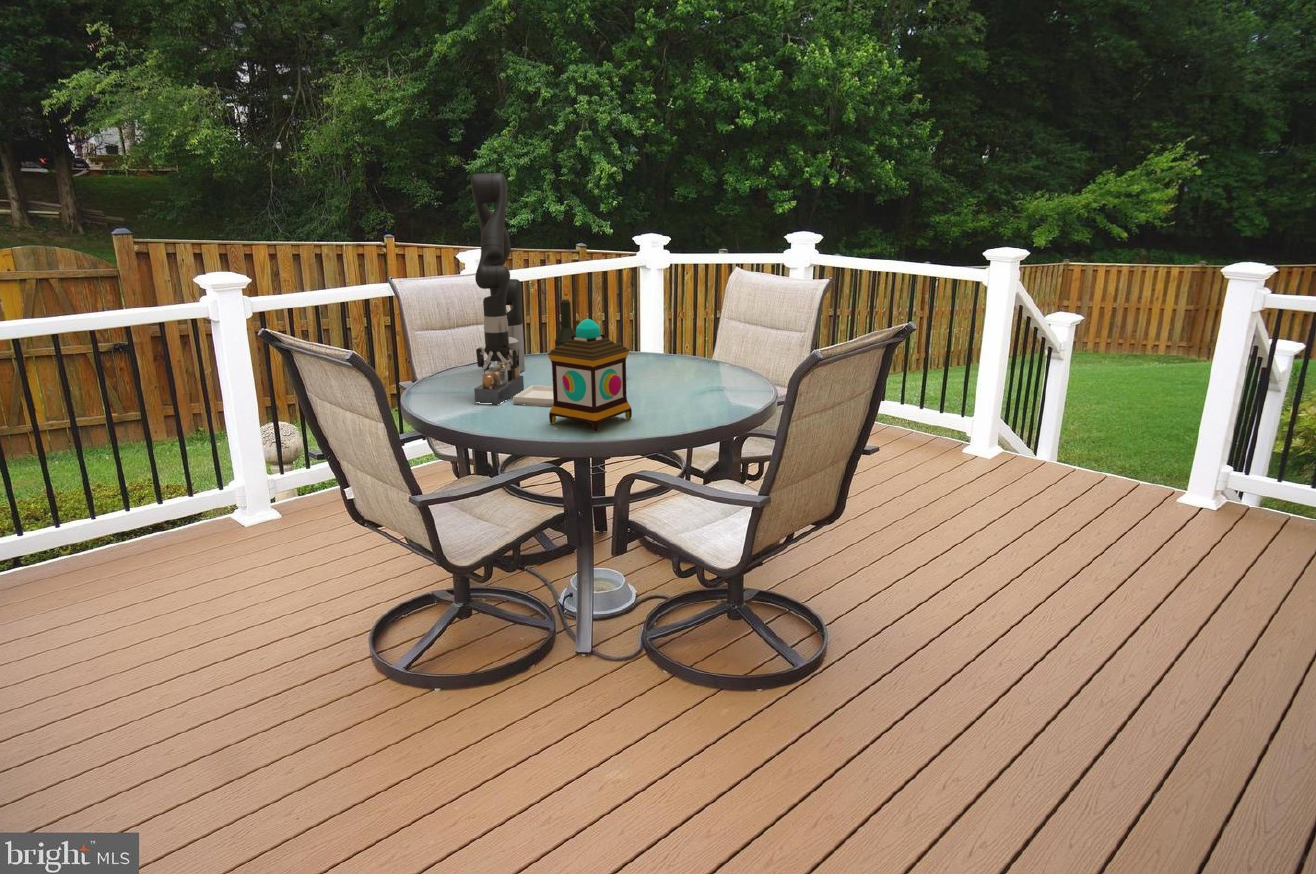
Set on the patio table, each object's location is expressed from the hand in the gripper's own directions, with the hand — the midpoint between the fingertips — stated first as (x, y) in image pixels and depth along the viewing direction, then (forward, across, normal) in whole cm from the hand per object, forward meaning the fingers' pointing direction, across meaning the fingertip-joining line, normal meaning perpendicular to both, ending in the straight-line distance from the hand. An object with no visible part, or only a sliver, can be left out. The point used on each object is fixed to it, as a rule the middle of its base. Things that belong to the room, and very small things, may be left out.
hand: (499, 380), depth 281 cm
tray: (+6, -15, 0) cm, 16 cm away
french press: (+6, +8, -23) cm, 25 cm away
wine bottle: (+6, -18, -15) cm, 24 cm away
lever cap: (+1, 0, 0) cm, 1 cm away
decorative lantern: (+6, -38, +21) cm, 44 cm away
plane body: (+6, 0, 0) cm, 6 cm away
